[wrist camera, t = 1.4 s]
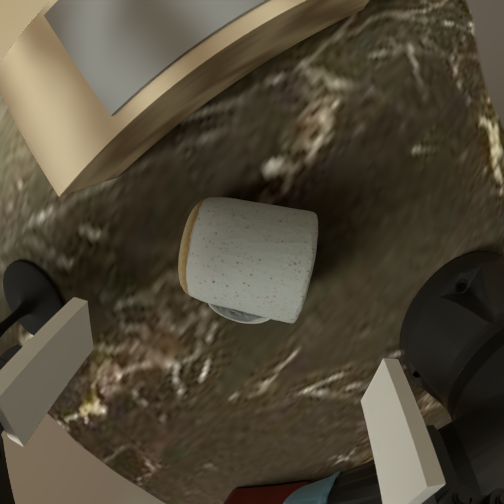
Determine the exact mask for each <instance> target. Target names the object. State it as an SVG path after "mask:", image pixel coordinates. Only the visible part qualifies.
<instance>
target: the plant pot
mask: <svg viewBox="0 0 504 504" xmlns="http://www.w3.org/2000/svg"><path fill="white" fill-rule="evenodd" d="M311 483H312V482H308V481H305V482H298V483H291V484H284V485H275V486H265V487H253V488H238V489H234V490H233V491H232V492H231V494H230V495H229V496H228V498H227V499H226V501H225V502H224V504H283V503H284V501H285V500H286V499H287V498H288V497H289V496H290V495H291V494H292V493H293V492H294V491H296V490H297V489H299V488H301V487H303V486H305V485H308V484H311Z"/></svg>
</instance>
